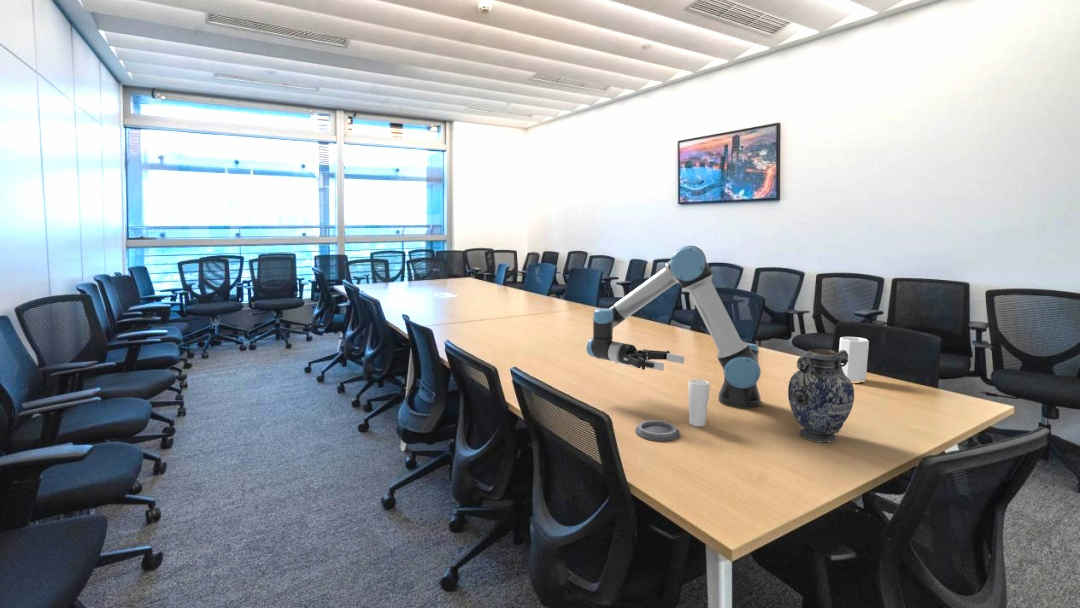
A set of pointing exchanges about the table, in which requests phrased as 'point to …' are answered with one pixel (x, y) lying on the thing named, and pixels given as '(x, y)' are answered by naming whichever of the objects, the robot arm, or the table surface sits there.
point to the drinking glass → (698, 401)
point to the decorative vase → (821, 394)
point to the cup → (855, 357)
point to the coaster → (657, 431)
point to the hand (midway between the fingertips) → (673, 363)
